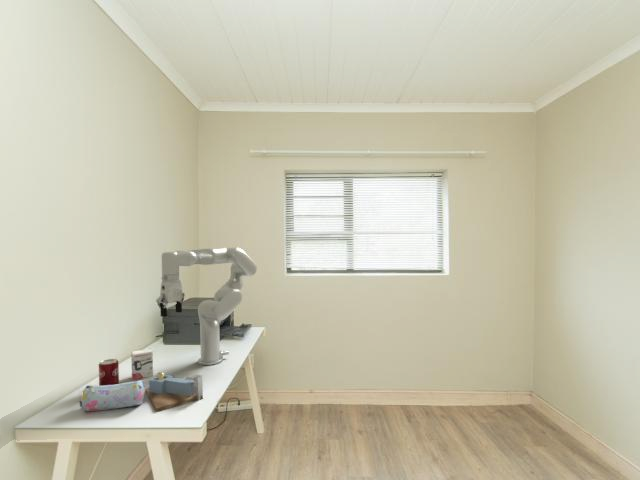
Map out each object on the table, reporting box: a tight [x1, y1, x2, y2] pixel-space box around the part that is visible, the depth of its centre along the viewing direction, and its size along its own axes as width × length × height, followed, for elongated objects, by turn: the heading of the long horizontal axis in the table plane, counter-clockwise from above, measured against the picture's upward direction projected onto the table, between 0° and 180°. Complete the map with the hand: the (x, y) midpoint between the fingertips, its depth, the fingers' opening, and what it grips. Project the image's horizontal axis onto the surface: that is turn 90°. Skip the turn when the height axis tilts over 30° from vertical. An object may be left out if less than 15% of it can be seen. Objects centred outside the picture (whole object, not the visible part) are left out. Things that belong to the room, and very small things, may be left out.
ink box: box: [130, 348, 154, 381], centre depth 165 cm, size 8×5×12 cm, turn 123°
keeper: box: [186, 374, 204, 402], centre depth 141 cm, size 6×3×9 cm, turn 71°
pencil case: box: [79, 380, 146, 412], centre depth 135 cm, size 21×9×10 cm, turn 100°
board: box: [145, 378, 204, 413], centre depth 144 cm, size 17×22×1 cm
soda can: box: [98, 358, 120, 386], centre depth 151 cm, size 7×7×12 cm
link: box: [148, 374, 194, 396], centre depth 144 cm, size 19×6×5 cm, turn 71°
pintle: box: [157, 372, 165, 380], centre depth 146 cm, size 2×2×8 cm
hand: (171, 314), depth 167 cm, fingers open, 9 cm apart
